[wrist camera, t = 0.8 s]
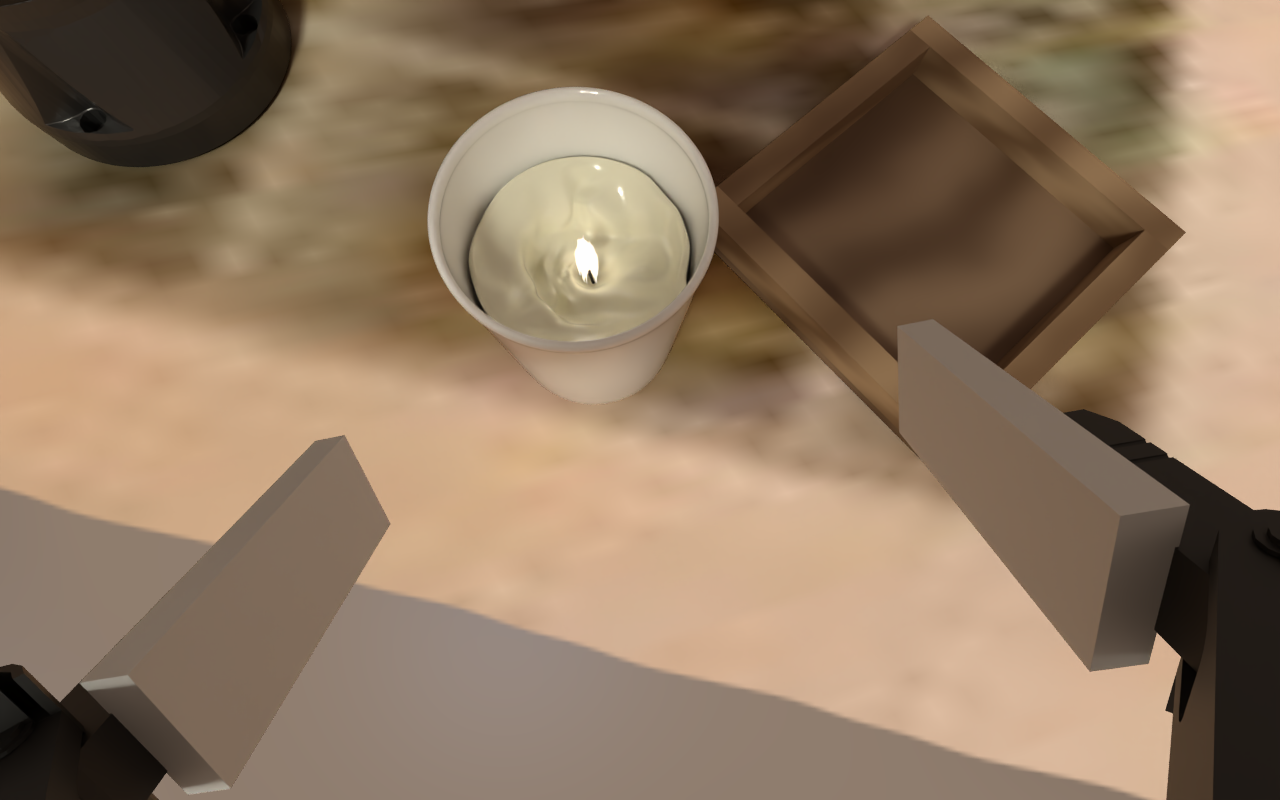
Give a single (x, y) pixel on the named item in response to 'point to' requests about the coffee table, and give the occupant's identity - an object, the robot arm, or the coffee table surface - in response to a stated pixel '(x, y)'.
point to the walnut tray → (934, 221)
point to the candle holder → (576, 236)
